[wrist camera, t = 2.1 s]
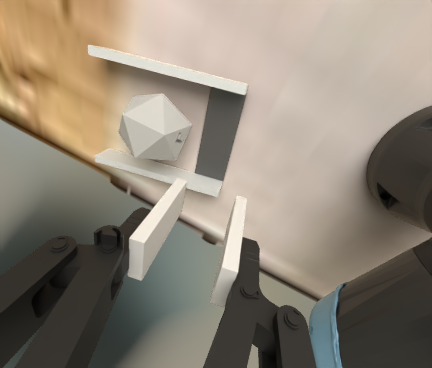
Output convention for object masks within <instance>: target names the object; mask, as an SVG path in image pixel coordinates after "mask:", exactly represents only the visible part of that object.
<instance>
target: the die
mask: <svg viewBox="0 0 432 368" xmlns="http://www.w3.org/2000/svg"><path fill="white" fill-rule="evenodd" d="M191 127H192V124H191V123H190V122H189V121H188V120H187V118H186V117H185V116H184V115H183V114H182V113H181V112H180V111H179V109H178V108H177V107H176V106H175V105H174V104H173V103H172V102H171V101H170V100H169V99H168V98H167V97H166V96H165V95H164V94H163V93H161V94H149V95H136V96H133V98H132V100H131V101H130V103H129V105H128V106H127V108H126V110H125V111H124V113H123V115H122V120H121V124H120V129H119V134H120V136H121V137H122V139H123V140H124V142H125V143H126V145H127V147H128V148H129V150H130V151H131V153H132V154H133V156H134V157H135V158H140V159H155V160H171V161H176V160H177V157H178V155H179V153H180V151H181V149H182V146H183V144H184V142H185V140H186V138H187V136H188V133H189V131H190V129H191Z"/></svg>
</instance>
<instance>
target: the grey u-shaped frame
mask: <svg viewBox="0 0 432 368" xmlns="http://www.w3.org/2000/svg"><path fill="white" fill-rule="evenodd" d="M88 54H89V55H92V56H96V57H99V58H103V59H107V60H111V61H115V62H119V63H123V64H126V65H130V66H134V67H138V68H142V69H146V70H150V71H153V72H157V73H161V74H165V75H169V76H173V77H177V78H180V79H184V80H188V81H192V82H196V83H200V84H203V85H207V86H211V93H210V98H209V103H208V108H207V113H206V119H205V124H204V129H203V134H202V140H201V145H200V150H199V155H198V161H197V166H196V171H195V173H194V172H191V171H187V170H184V169H180V168H177V167H173V166H170V165H166V164H163V163H159V162H156V161H152V160H149V159H140V158H135V157H134V156H133V155H131V154H128V153H124V152H121V151H117V150H114V149H111V148H109V149H107V150H105V151H103V152H101V153H99V154H97V155H95V162H98V163H101V164H105V165H108V166H112V167H115V168H119V169H122V170H125V171H129V172H132V173H136V174H139V175H143V176H146V177H149V178H153V179H156V180H160V181H163V182H167V183H170V184H173V183H174V182H175V180H176V179H177V178H179V179H182V180H185V181H187V185H186V188H187V189H191V190H194V191H197V192H201V193H204V194H208V195H211V196H214V197H218V195H219V192H220V190H221V187H222V183H223V180H224V176H225V172H226V168H227V165H228V161H229V157H230V153H231V150H232V146H233V142H234V138H235V135H236V131H237V127H238V124H239V120H240V116H241V112H242V109H243V105H244V101H245V97H246V94H247V90H248V86H249V84H247V83H243V82H239V81H235V80H231V79H227V78H223V77H219V76H215V75H211V74H208V73H204V72H200V71H196V70H192V69H188V68H184V67H180V66H176V65H172V64H169V63H165V62H161V61H157V60H153V59H149V58H145V57H141V56H137V55H133V54H129V53H126V52H122V51H118V50H114V49H110V48H105V47H99V46H92V45H88Z"/></svg>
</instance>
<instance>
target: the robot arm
mask: <svg viewBox="0 0 432 368" xmlns="http://www.w3.org/2000/svg"><path fill="white" fill-rule="evenodd" d="M367 182H368V186H369V189H370V191H371V193H372V195H373V196H374V197H375V199H376V200H377V201H378V202H379V203H380V204H381V205H382V206H383V207H384V208H385V209H386V210H387V211H388V212H390V213H391V214H392V215H394V216H396V217H398V218H400V219H402V220H404V221H407V222H409V223H411V224H413V225H415V226H417V227H420V228H422V229H424V230H426V231H428V232H431V233H432V106H429V107H427V108H424V109H422V110H420V111H418V112H416V113H414V114H412V115H410V116H409V117H407V118H405V119H404V120H402V121H401V122H400V123H398V124H397V125H396V126H394V127H393V128H392V129H391V130H390V131H389V132H388V133H387V134H386V135H385V136H384V137H383V138H382V139H381V141H380V142H379V143H378V145H377V146H376V148H375V149H374V151H373V153H372V155H371V157H370V160H369V163H368V168H367ZM186 185H187V181H185V180H182V179H179V178H177V179H176V180H175V182H174V183H173V184H172V185H171V187H170V188H169V189H168V190H167V192H166V193H165V194H164V195H163V197H162V198H161V199H160V200H159V202H158V203H157V204H156V205H155V207H154V208H153V209H152V210H149V209H146V208H139V209H137V210H136V211H134V212H133V213H132V214H131V215H130V217H128V218H127V220H126V221H125V222H124V223H123V224H122V225H121V226H120V227H117V226H111V225H108V226H103V227H101V228H99V229H97V230H96V231H95V232H94V242H95V245H80V244H79V245H78V244H77V243H76V241H75V239H74V238H72V237H69V236H59V237H56V238H53V239H51V240H49V241H47V242H46V243H44V244H43V245H42V246H40V247H39V248H38V249H36V250H35V251H33V252H32V253H31V254H29V255H28V256H27V257H26V258H24V259H23V260H21V261H20V262H18V263H17V264H16V265H14V266H13V267H12V268H11V269H9V270H8V271H6V272H5V273H3V274H2V275H1V276H0V368H3V367H4V366H5V364H6V363H7V362H8V361H9V360H10V359H11V358H12V357H13V356H14V355H15V354H16V353H17V351H19V349H20V348H21V347H22V346H23V345H24V344H25V343H26V342H27V341H28V340H29V339H30V338H31V337H32V335H33V334H34V333H35V332H36V331H37V330H38V329H39V328H40V327H41V326H42V327H41V328H40V330H39V331H38V333H37V334H36V336H35V337H34V339H33V340H32V342H31V343H30V345H29V346H28V348H27V349H26V351H25V352H24V354H23V355H22V357H21V359H20V360H19V362H18V363H17V365H16V366H15V368H87V367H88V365H89V363H90V360H91V358H92V356H93V353H94V351H95V348H96V346H97V344H98V341H99V339H100V336H101V334H102V332H103V329H104V327H105V325H106V322H107V320H108V317H109V315H110V313H111V310H112V308H113V305H114V303H115V301H116V298H117V296H118V294H119V291H120V289H121V286H122V284H123V277H124V275H125V274H126V272H127V271H128V276H129V277H132V278H135V279H138V280H141V281H142V279H143V277H144V276H145V274H146V272H147V270H148V269H149V267H150V265H151V263H152V262H153V260H154V258H155V257H156V255H157V253H158V251H159V250H160V248H161V246H162V244H163V243H164V241H165V239H166V237H167V236H168V234H169V232H170V231H171V229H172V227H173V225H174V223H175V222H176V220H177V219H178V217H179V215H180V213H181V212H182V208H183V202H184V197H185V191H186ZM246 203H247V198H244V197H241V196H236V200H235V203H234V206H233V209H232V212H231V215H230V219H229V222H228V225H227V230H226V234H225V238H224V243H223V247H222V252H221V256H220V260H219V265H218V269H217V273H216V278H215V282H214V287H213V291H212V296H211V300H210V303H212V304H215V305H218V306H221V307H224V306H225V311H224V314H223V316H222V318H221V321H220V323H219V326H218V329H217V332H216V335H215V337H214V340H213V343H212V345H211V348H210V351H209V353H208V356H207V358H206V361H205V364H204V366H203V368H247V364H248V359H249V355H250V350H251V346H252V344H253V345H255V346H256V347H258V357H259V368H432V238H430V239H429V240H427V241H425V242H423V243H421V244H419V245H418V246H416V247H413V248H411V249H409V250H407V251H406V252H404V253H402V254H400V255H398V256H396V257H394V258H393V259H391V260H389V261H387V262H385V263H383V264H382V265H380V266H378V267H376V268H374V269H372V270H370V271H369V272H367V273H365V274H363V275H361V276H359V277H357V278H356V279H354V280H352V281H350V282H346V283H343V284H342V285H339V286H338V287H337V288H336V290H335V291H333V292H332V293H330V294H329V295H327V296H325V297H324V298H322V299H321V300H319V301H318V302H317V303H316V305H315V306H314V308H313V310H312V312H311V315H310V320H309V330H308V326H307V323H306V320H305V318H304V316H303V315H302V314H301V313H300V312H299V311H298V310H297V309H296V308H294V307H292V306H288V305H284V306H281V307H280V308H279V307H278V306H276V305H275V304H273V303H272V302H270V301H269V300H268V299H266V298H265V296H264V295H263V294H262V292H261V290H260V287H259V253H260V248H259V246H258V244H257V242H256V241H254V240H251V239H247V238H244V237H242V236H243V228H244V219H245V211H246ZM309 333H310V335H309Z"/></svg>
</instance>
